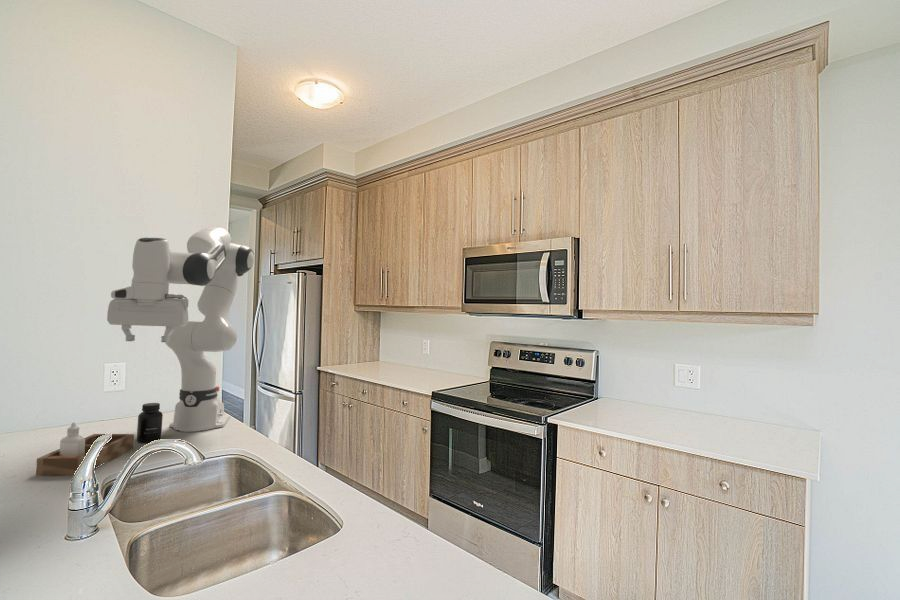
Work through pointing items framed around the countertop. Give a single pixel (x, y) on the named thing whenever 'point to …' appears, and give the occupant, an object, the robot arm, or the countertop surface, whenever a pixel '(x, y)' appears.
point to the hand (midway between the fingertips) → (147, 341)
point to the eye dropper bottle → (72, 443)
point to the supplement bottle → (149, 423)
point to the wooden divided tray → (69, 464)
